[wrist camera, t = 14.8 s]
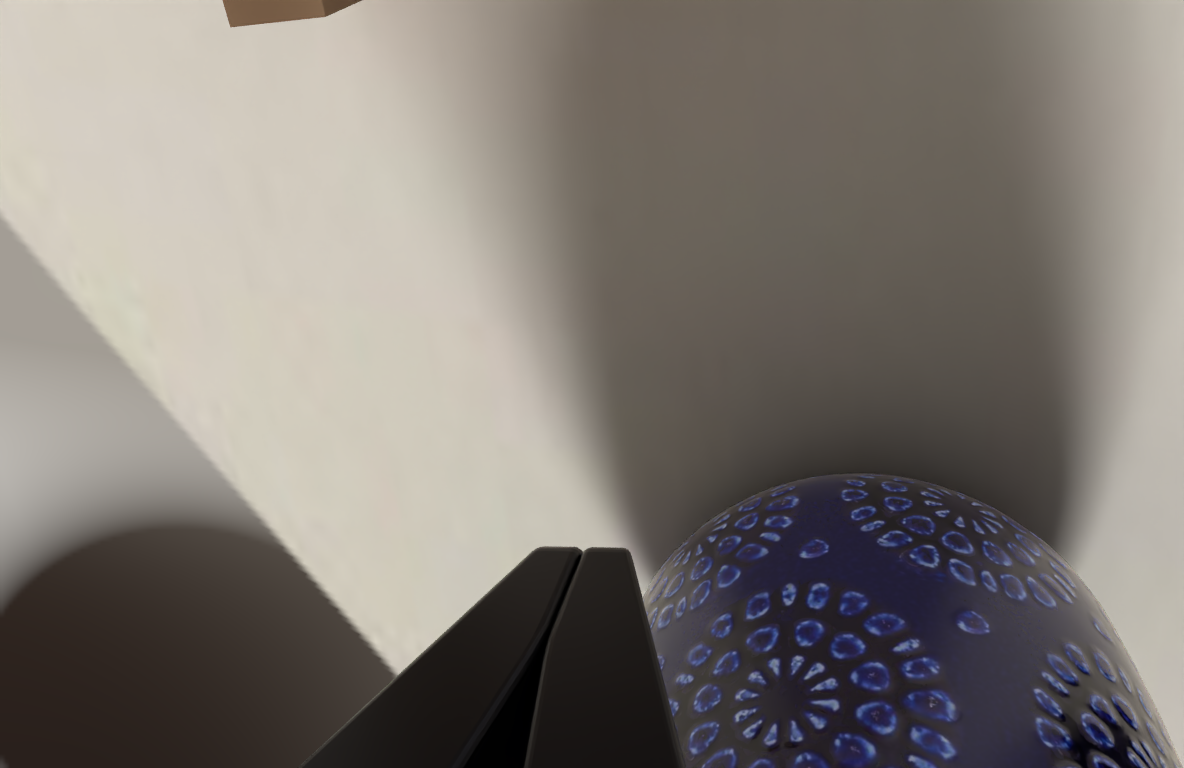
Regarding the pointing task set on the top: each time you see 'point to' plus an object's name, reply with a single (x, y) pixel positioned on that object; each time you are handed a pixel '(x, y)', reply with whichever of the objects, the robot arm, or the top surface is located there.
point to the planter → (890, 638)
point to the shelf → (280, 10)
